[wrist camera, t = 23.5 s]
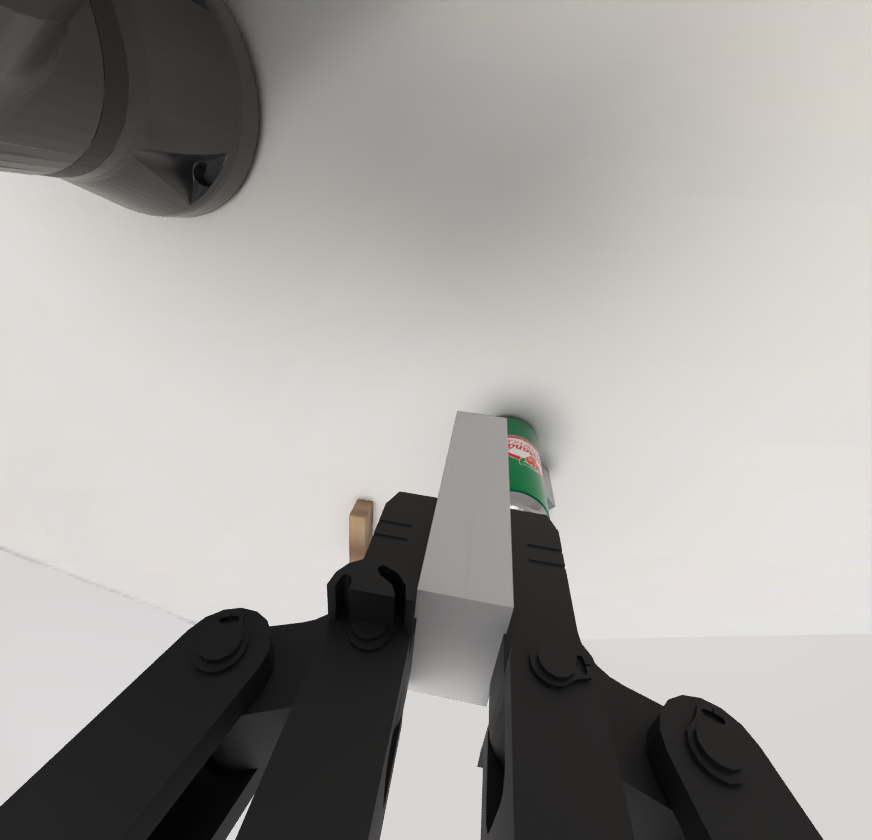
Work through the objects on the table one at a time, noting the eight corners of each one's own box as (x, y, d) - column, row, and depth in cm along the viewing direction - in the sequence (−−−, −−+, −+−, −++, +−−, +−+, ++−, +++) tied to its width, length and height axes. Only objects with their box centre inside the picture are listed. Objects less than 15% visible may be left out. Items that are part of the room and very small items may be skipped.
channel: (357, 499, 40) (349, 515, 38) (486, 522, 39) (485, 539, 37) (357, 557, 44) (349, 574, 42) (475, 579, 43) (473, 598, 41)
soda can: (549, 440, 34) (570, 535, 24) (507, 474, 36) (509, 576, 26) (506, 403, 33) (508, 485, 23) (467, 440, 36) (451, 531, 25)
